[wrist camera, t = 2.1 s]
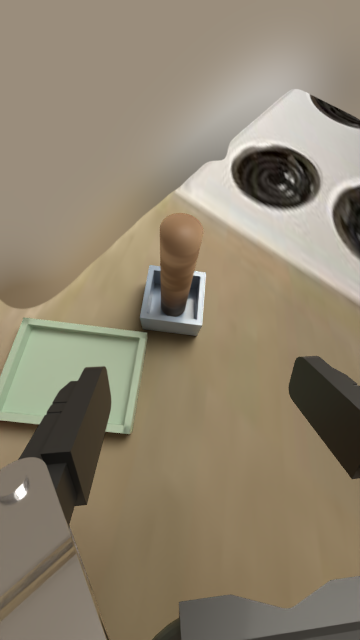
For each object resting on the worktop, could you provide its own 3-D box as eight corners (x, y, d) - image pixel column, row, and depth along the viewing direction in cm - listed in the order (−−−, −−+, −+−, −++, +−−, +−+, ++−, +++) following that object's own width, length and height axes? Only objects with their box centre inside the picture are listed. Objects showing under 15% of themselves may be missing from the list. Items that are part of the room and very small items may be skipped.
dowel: (159, 315, 31) (157, 244, 17) (162, 293, 33) (163, 210, 19) (184, 318, 31) (201, 250, 17) (186, 296, 33) (204, 216, 19)
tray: (-3, 417, 26) (-17, 418, 24) (33, 323, 30) (23, 317, 28) (132, 431, 26) (129, 434, 24) (147, 337, 31) (146, 332, 29)
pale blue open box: (142, 329, 31) (139, 317, 27) (151, 282, 34) (149, 265, 30) (196, 335, 31) (202, 325, 27) (200, 288, 34) (205, 272, 30)
